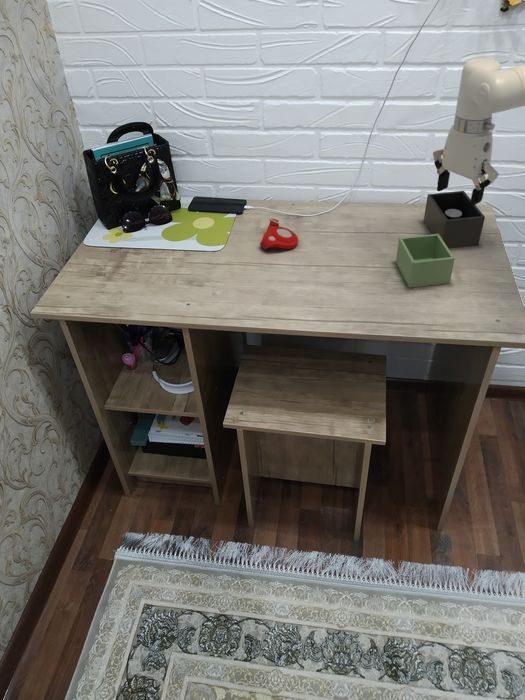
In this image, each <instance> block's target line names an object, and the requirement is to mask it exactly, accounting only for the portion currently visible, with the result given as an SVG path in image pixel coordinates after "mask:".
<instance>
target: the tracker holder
mask: <svg viewBox="0 0 525 700" xmlns="http://www.w3.org/2000/svg"><path fill="white" fill-rule="evenodd" d="M268 221H269V224H268V227H267V230H266V231H265V233H264V234H263V236H262V238H261V242H259V245H260V246H261V247H262V248H263V249H264V250H267V249H269V248H279V249H285V250H286V249H287V250H288V249H289V250H290V249H294V248H296V247H297V246H298V244H299V238H298V236H297V234H296V233H295V232H294V231H292V230H291V229H288V228H286V227H283V226H280V222H279V220H278V219H276V218H268Z"/></svg>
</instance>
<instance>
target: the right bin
mask: <svg viewBox="0 0 525 700" xmlns="http://www.w3.org/2000/svg"><path fill="white" fill-rule="evenodd" d="M426 197H427V198H426V201H425V202H426V203H425V209H424V215H423V224H424V225H425V226H426V228H427V230H428V231H429V233H430V235H431V234H439V235H440V237H441V238H442V240H443V241H444V243H445V244H446V246H447V247H448V249H454V248H455V249H456V248H465V247H474V246H475V247H476V246H480V245H479V244H480V240H481V236H482V233H483V227H484V225H485V219H486V216H485V215H484V214H483V212H482V211H481V209H479V207H478V206H477V204H476V205H474V206H472V205H470V201H471V197H470V196H469V195H468V194H467V192H466V191H465V190H456V191H447V192H437V193H428V194H427V196H426ZM448 209H457V210H459V211H461V212H462V217H461V218H459V219H449V220H448V219H447V218H446V216H445V211H446V210H448Z"/></svg>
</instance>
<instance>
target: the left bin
mask: <svg viewBox="0 0 525 700" xmlns="http://www.w3.org/2000/svg"><path fill="white" fill-rule="evenodd" d="M396 249H397V252H396V257H395V263H396V265H397V267H398V269H399V271H400V273H401V275H402V277H403V279H404V282H405V283H406V285H407V288H409V289H411V288H420V287H429V286H437V285H438V286H439V285H447V284H448V285H449V284H450V283H451V278H452V274H453V269H454V264H455V261H456V260H455V256H454V255H453V253H452V252H451V250H450V248H448V247H447V246H446V244H445V243H444V241H443V240H442V238H441V237H440V235H439V234H431V233H430V234H424V235H413V236H405V237H398V243H397V248H396Z"/></svg>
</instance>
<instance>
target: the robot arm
mask: <svg viewBox="0 0 525 700" xmlns="http://www.w3.org/2000/svg"><path fill="white" fill-rule="evenodd" d="M522 107H525V64H522V65H521V64H520V65H516V66H511V67H507V68H503V69H502V65H501V63H500V62H499V60H498V61H497V60H496V59H492V58H489V57H488V58H486V57H480V58H479V57H478V58H473V59H470V60H468V61H466V62H465V63H464V65H463V67H462V71H461V76H460V83H459V88H458V95H457V100H456V107H455V113H454V119H453V124H452V125H451V127H450V129H449V131H448V134H447V136H446V140H445V143H444V148H441V149H436V150H435V151H433V152H432V157H433V160H434V162H433V163H434V166H435V168H436V174H437V175H438V178H437V183H436V184H437V187H436V191H437V192H441V191H445V190H446V189H447V188H448V187H449V182H450V176H451V173H454V174H456V175H458V176H461V177H463V178H466V179H468V180H471V181H472V183H473V185H474V188H473V189H472V190H471V191H472V192H471V195H470V196H471V197H470V199H471V201H470V205H472V206H474V205H476V206H477V205H478V204H480V203H481V202H482V200H483V198H484V193H485V188H487V187H488V186H490V185H493V183H494V181H496V180H497V178H498V177H499V175H500V174H499V172H498V171H497V170H496V169H495V168H494V167H493V166H492V164H491V161H492V155H493V154H492V153H493V130H494V129H495V127H496V124H495V123H493V122H492V120H493V114H497V113H498V114H499V113H501V112H506V111H510V110H513V109H518V108H522ZM486 175H487V178H486Z"/></svg>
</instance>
